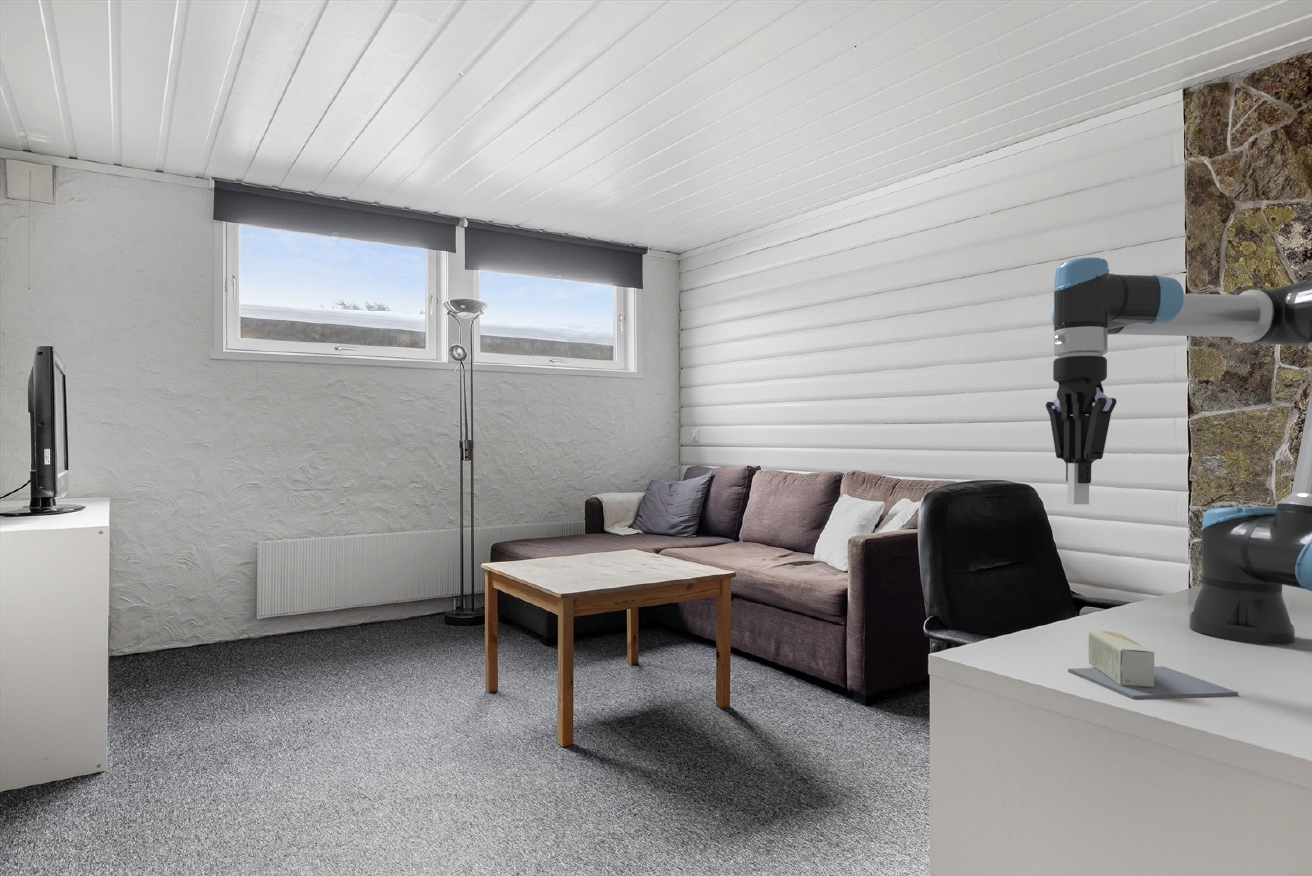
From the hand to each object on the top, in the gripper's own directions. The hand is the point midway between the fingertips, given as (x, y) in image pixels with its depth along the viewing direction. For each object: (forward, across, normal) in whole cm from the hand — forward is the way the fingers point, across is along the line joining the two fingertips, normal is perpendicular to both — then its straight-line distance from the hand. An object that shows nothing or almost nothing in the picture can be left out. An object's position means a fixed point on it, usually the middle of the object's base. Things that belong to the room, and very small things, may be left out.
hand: (1078, 503), depth 120 cm
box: (+21, +7, -1) cm, 22 cm away
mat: (+24, +15, 0) cm, 28 cm away
